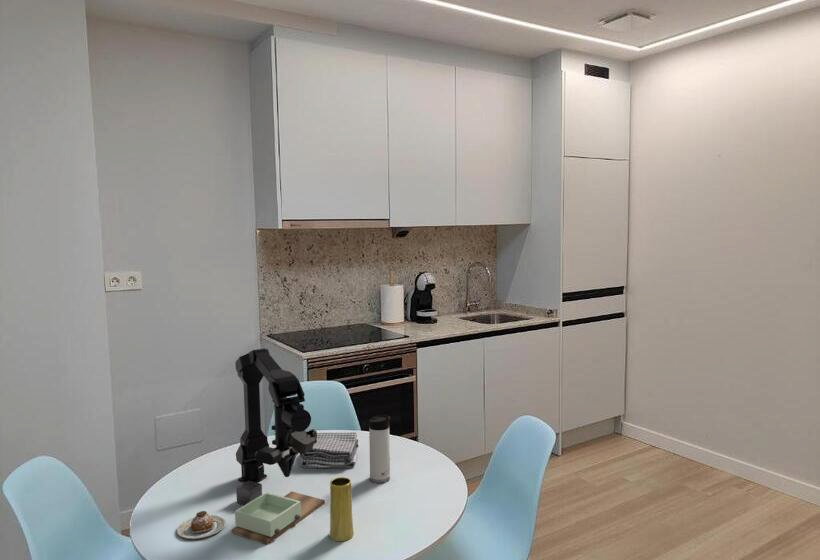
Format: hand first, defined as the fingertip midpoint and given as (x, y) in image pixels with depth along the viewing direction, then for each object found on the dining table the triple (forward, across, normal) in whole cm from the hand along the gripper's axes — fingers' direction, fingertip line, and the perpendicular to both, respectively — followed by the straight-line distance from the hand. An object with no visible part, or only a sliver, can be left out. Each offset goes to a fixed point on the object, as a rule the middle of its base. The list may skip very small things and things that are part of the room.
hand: (287, 476), depth 159 cm
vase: (+11, -3, -20) cm, 23 cm away
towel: (+11, +35, +11) cm, 38 cm away
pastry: (+11, -17, +15) cm, 25 cm away
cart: (+9, -8, 0) cm, 12 cm away
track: (+10, -3, 0) cm, 11 cm away
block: (+10, 0, +14) cm, 18 cm away
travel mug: (+11, +30, -12) cm, 34 cm away
